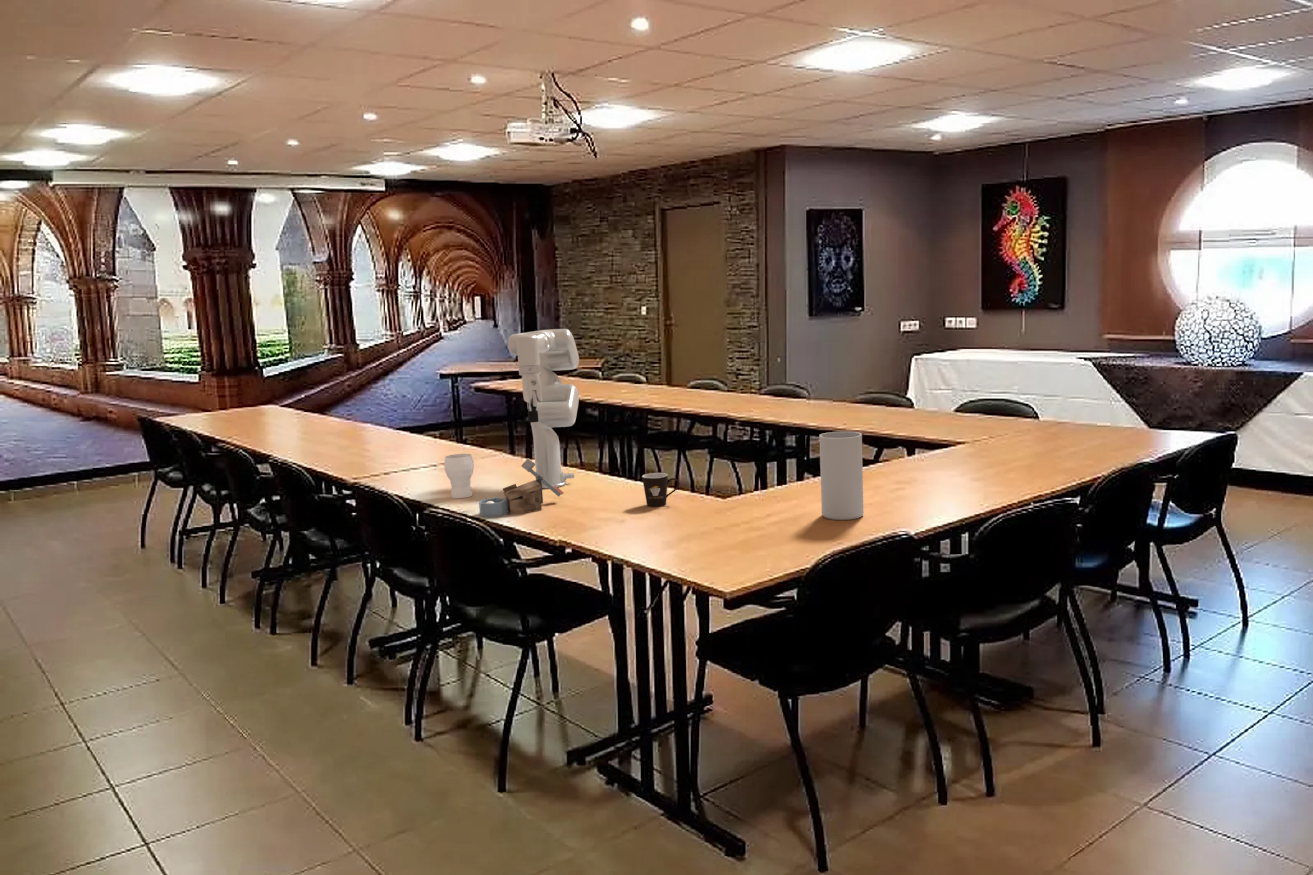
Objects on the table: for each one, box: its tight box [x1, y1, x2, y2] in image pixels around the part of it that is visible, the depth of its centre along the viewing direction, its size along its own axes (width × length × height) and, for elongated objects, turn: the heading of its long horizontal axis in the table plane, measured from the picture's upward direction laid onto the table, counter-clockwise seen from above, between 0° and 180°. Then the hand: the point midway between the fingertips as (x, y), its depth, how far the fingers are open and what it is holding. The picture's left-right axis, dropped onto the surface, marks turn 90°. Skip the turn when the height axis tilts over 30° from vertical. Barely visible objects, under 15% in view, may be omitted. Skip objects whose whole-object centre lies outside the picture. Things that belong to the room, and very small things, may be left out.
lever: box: [521, 458, 564, 497], centre depth 336 cm, size 17×11×3 cm
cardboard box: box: [502, 478, 544, 515], centre depth 334 cm, size 14×12×10 cm
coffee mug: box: [641, 472, 681, 508], centre depth 328 cm, size 12×9×10 cm
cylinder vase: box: [818, 431, 864, 521], centre depth 298 cm, size 12×12×25 cm
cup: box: [443, 453, 475, 499], centre depth 360 cm, size 11×11×15 cm
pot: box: [478, 497, 509, 518], centre depth 329 cm, size 9×9×4 cm
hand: (533, 421), depth 348 cm, fingers closed
